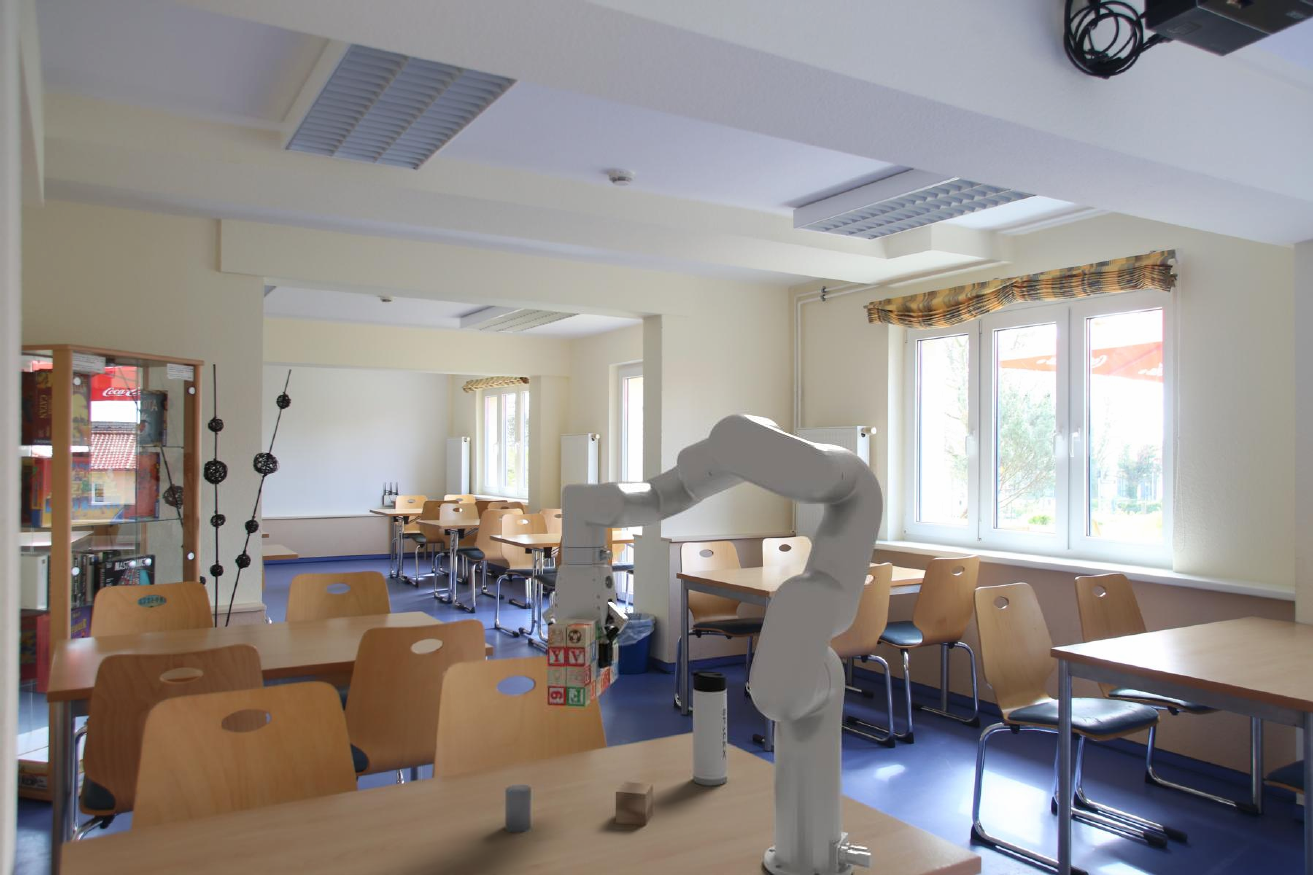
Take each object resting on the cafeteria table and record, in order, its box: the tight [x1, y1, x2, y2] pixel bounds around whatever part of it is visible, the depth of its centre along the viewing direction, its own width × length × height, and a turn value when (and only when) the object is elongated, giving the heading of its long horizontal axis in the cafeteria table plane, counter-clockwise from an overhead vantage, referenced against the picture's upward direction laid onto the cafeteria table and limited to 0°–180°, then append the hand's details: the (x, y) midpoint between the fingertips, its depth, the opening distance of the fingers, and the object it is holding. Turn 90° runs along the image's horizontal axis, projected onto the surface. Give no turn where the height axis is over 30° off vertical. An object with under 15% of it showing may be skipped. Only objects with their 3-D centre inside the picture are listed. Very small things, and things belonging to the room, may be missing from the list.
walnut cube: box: [615, 781, 654, 826], centre depth 146 cm, size 5×5×5 cm
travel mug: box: [690, 670, 728, 787], centre depth 165 cm, size 6×7×20 cm
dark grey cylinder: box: [504, 784, 532, 834], centre depth 142 cm, size 4×4×6 cm
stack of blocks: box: [546, 618, 619, 708], centre depth 149 cm, size 21×6×12 cm, turn 169°
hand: (584, 664), depth 148 cm, fingers closed on stack of blocks, 7 cm apart
